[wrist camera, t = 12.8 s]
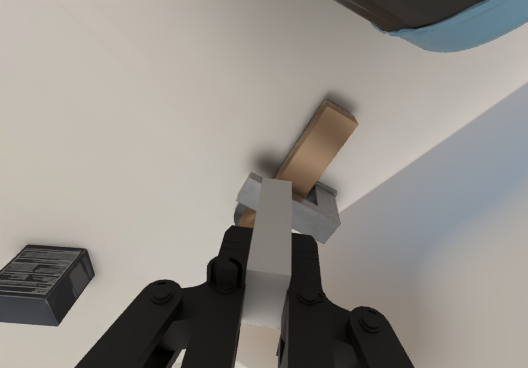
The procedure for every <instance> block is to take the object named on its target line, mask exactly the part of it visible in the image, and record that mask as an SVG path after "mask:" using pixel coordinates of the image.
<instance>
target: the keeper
mask: <svg viewBox="0 0 528 368" xmlns="http://www.w3.org/2000/svg"><path fill="white" fill-rule="evenodd" d="M262 179H263V178H262V177H260V176H258V175H257V174H255V173H253V172H251V173H250V175H249V176H248V178H247V180H246V181H245V183H244V185H243V187H242V188H241V190H240V192H239V193H238V196H237V199H236V201H237V202H239V203H241V204H243V205H245V206H247V207H249V208H251V209H253V210H255V211H257V207H258V201H259V196H260V190H261V184H262ZM336 195H337V191H335V190H333V189H331V188H329V187H327V186H325V185H323V184H321V183H320V182H318V181H316V183H315V184H314V185H313V187H312V188H311V190H310V191H309V192H308V194H307V195H306V196H305V198H304V199H303V198H301V197H299V196H297V195H296V194H294V193H292V229H294V230H296V231H298V232H300V233H302V234H305V235H312V236H313V238H314V239H315V240H317V241H319V242H321V243H323V244H325V242H326V241H327V240H328V239H329V238H330V236H331V235H332V234H333V233H334V232H335V230H336V229H337V228H338V227H339V226H340V224H341V223H340V219H339V214H338V209H337V205H336V200H335V197H336Z"/></svg>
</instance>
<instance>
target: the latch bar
mask: <svg viewBox="0 0 528 368" xmlns="http://www.w3.org/2000/svg"><path fill="white" fill-rule="evenodd" d="M357 126H358V123H357V121H356V119H355V117H354V116H353V115H351V114H349V113H348V112H346V111H344V110H343V109H341V108H339V107H338V106H336V105H334V104H332V103H331V102H329V101H327V100H326V99H325V100H324V101H323V103H322V104H321V106H320V107H319V109H318V110H317V112H316V114H315V115H314V117H313V118H312V120H311V121H310V123H309V124H308V126H307V127H306V129H305V130H304V132H303V134H302V135H301V137H300V138H299V140H298V141H297V143H296V144H295V146H294V147H293V149H292V150H291V152H290V153H289V155H288V157H287V158H286V160H285V161H284V163H283V164H282V166H281V167H280V169H279V170H278V172H277V173H276V175H275V177H274V178H273V179H278V180H285V181H292V193H294V194H296V195H297V196H299V197H301V198H303V199H304V198H305V196H306V195H307V194H308V192H309V191H310V190H311V188H312V187H313V185H314V184H315V183H316V181H317V180H318V179H319V177H320V176H321V175H322V173H323V172H324V171H325V169H326V168H327V166H328V165H329V164H330V162H331V161H332V160H333V158H334V157H335V156H336V154H337V153H338V152H339V150H340V149H341V147H342V146H343V145H344V143H345V142H346V141H347V139H348V138H349V137H350V135H351V134H352V133H353V131H354V130H355V128H356V127H357ZM256 212H257V211H255V210H253V209H251V208H249V207H248V208H247V209H245V210H244V212H243V213H242V215H241V218H240V222H239V226H241V227H249V228H254V224H255V218H256Z"/></svg>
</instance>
